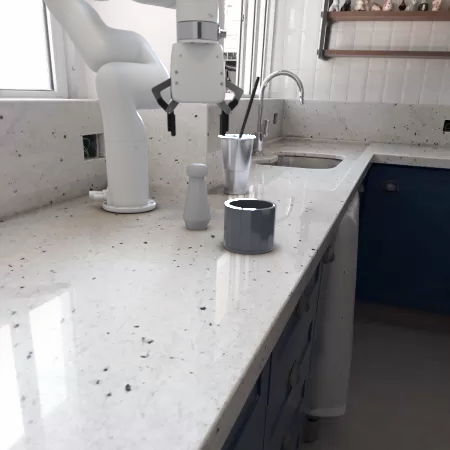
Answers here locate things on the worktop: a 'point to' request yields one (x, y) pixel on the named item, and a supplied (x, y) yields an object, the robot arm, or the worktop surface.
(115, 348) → the worktop surface
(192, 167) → the salt shaker
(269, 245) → the grey mortar cup
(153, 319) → the worktop surface
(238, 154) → the glass
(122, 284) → the worktop surface
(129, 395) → the worktop surface
